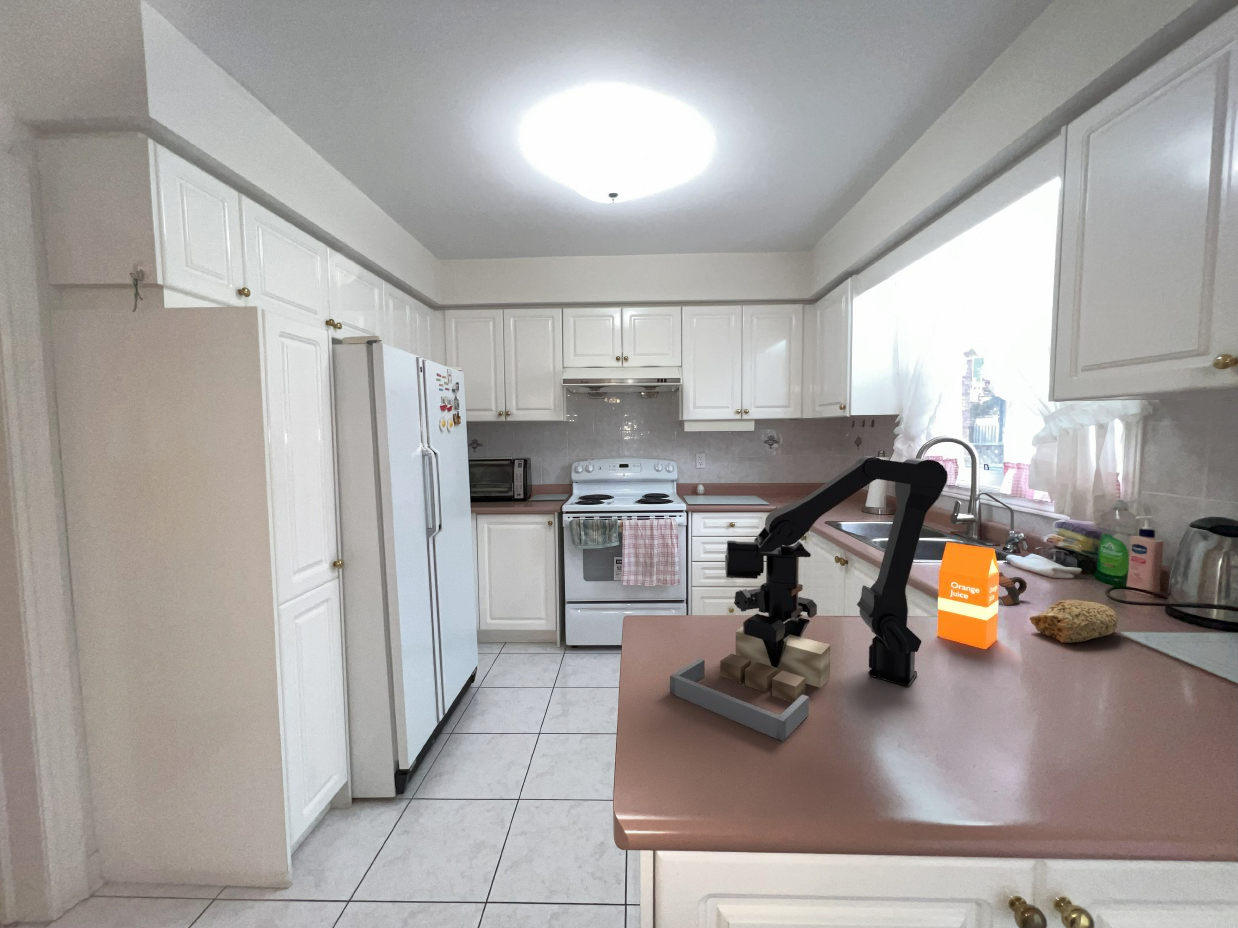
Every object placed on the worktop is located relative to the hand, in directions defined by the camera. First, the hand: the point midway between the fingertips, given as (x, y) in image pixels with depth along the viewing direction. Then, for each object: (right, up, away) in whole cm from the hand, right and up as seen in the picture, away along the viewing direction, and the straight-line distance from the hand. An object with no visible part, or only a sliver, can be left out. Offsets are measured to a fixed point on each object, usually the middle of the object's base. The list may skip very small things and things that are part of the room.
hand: (781, 661), depth 92 cm
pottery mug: (+70, +1, +38) cm, 80 cm away
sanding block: (0, -1, 0) cm, 1 cm away
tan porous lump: (+70, 0, +16) cm, 72 cm away
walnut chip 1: (-9, -2, -2) cm, 10 cm away
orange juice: (+44, -1, +14) cm, 46 cm away
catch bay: (-12, -2, -12) cm, 17 cm away
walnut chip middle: (-5, -2, -6) cm, 8 cm away
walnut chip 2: (-2, -2, -9) cm, 10 cm away
